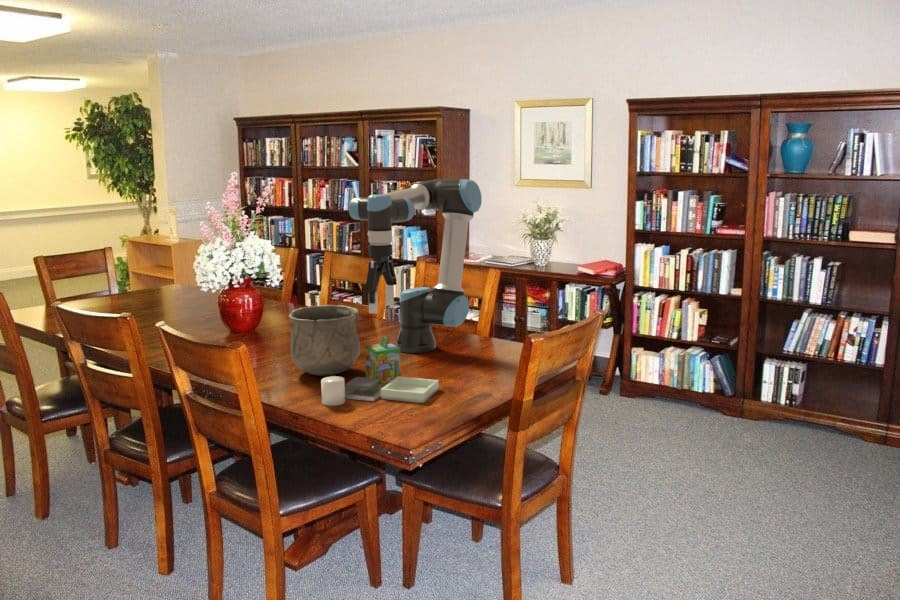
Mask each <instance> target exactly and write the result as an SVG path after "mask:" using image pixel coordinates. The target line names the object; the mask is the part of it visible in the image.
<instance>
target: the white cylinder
mask: <svg viewBox="0 0 900 600" xmlns="http://www.w3.org/2000/svg"><path fill="white" fill-rule="evenodd" d="M320 386H321V389H320V391H321V404H322V405H324V406H328V407H331V406H332V407H333V406H340V405H343V404H345V403H346V398H345V386H346V383H345V377H343V376H336V375H330V376H324V377H323V378H322V379H320Z"/></svg>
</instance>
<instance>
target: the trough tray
mask: <svg viewBox="0 0 900 600" xmlns="http://www.w3.org/2000/svg"><path fill="white" fill-rule="evenodd" d="M439 381H440V380H439V379H433V378H432V379H431V378H428V379H427V378H420V377H409V376H401V377H400V376H397V377H396V378H395V379H393V380H392V381H391V382H390V383H388V384H385V385H386V386H384V387H383V388H382V389H381V396H380V399H381V400H389V401H390V400H391V401H400V402H407V403H408V402H409V403H410V402H411V403H419V404H420V403H421V404H424V403H426V402H427V401H428V400H429V399H431V397H432V396H433V395H435V393H436V392H438V390H439V388H440V384H439V383H440V382H439Z"/></svg>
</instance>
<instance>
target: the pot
mask: <svg viewBox="0 0 900 600" xmlns="http://www.w3.org/2000/svg"><path fill="white" fill-rule="evenodd" d="M359 313H360V311H359V309H357V308H356V307H352V306H348V305H340V304H338V305H336V304H321V305H311V306H306V307H299V308H296V309H293V310H292V311H291V312H290V313H289V315H288V318H289V319H290V320H291V321H290V322H291V324H290V327H291V332H290V356H291V359H292V361H293V363H294V365H295V366H296V367H297V368H298V369H300V370H301V371H303V372H304V373H308V374H309V375H314V376H320V377H329V376H335V375H337V374H341V373H343V372H345V371H348V370H349V369H350V368H351V367H352V366H353V365H354V364H355V362H356V361H357V360H358V359H359V356H360V354H361V342H360V338H359V335H358V331H357V322H356V319H357V316H358V315H360V314H359Z"/></svg>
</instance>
